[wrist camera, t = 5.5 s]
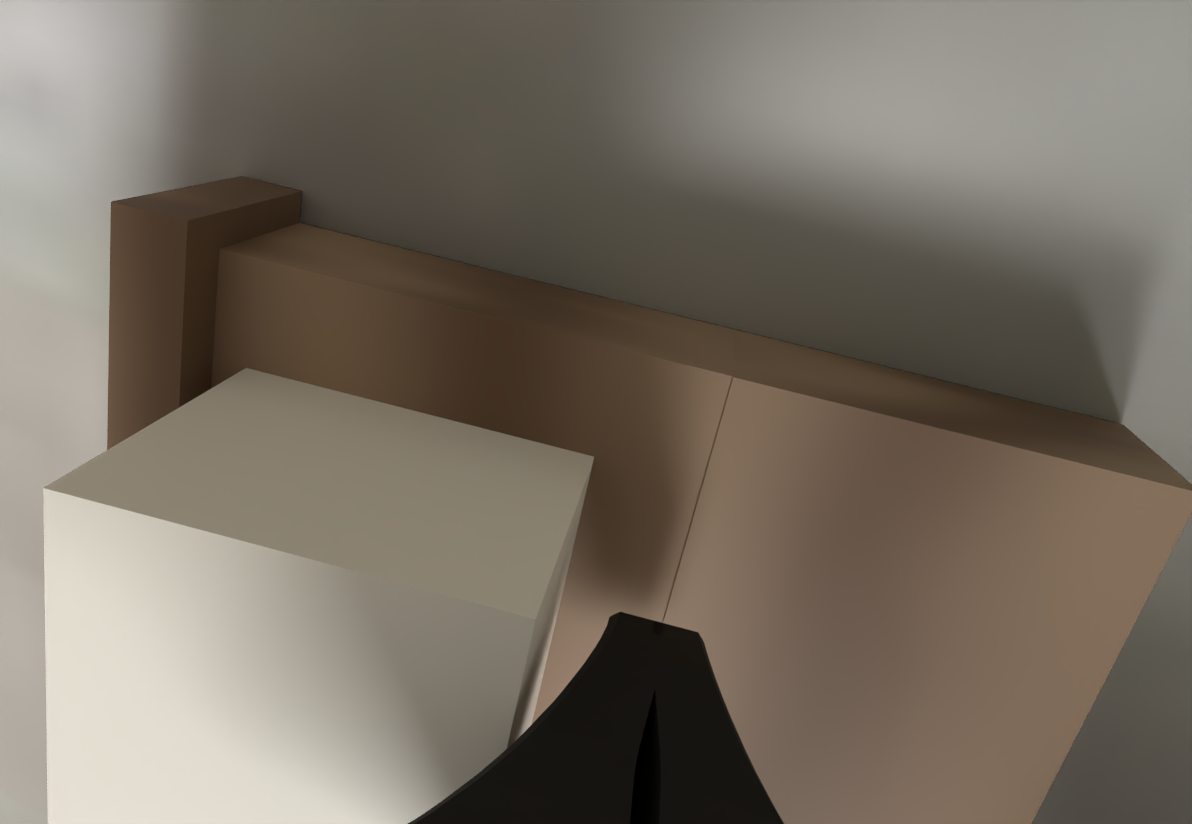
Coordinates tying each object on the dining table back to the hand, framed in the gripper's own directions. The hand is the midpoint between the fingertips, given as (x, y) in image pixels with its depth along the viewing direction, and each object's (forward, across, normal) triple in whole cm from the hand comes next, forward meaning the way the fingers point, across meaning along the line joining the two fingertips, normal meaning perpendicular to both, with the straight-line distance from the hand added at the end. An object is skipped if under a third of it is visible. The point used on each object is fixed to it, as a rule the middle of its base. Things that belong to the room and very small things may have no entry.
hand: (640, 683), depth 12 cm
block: (+1, +4, 0) cm, 4 cm away
